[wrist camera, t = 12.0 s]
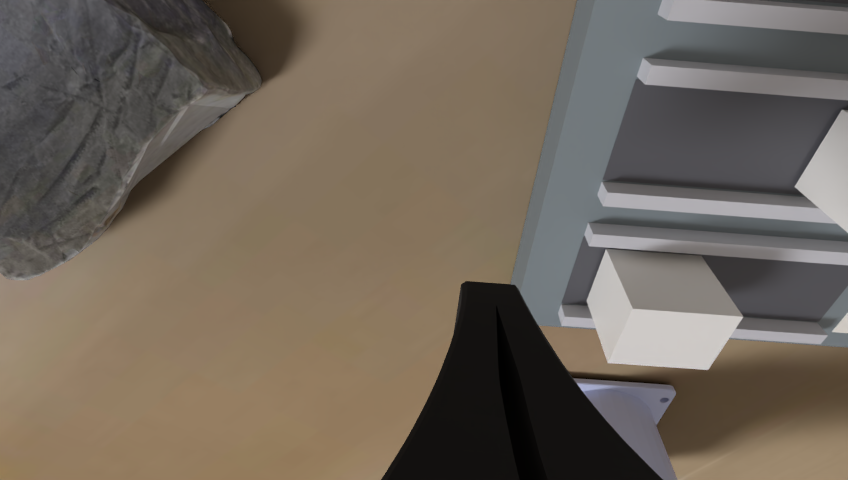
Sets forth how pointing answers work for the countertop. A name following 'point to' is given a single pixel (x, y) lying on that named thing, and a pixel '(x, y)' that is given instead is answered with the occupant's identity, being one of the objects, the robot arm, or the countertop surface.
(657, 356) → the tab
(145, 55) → the grey rock
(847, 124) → the tab middle
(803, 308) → the switch panel
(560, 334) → the countertop surface
